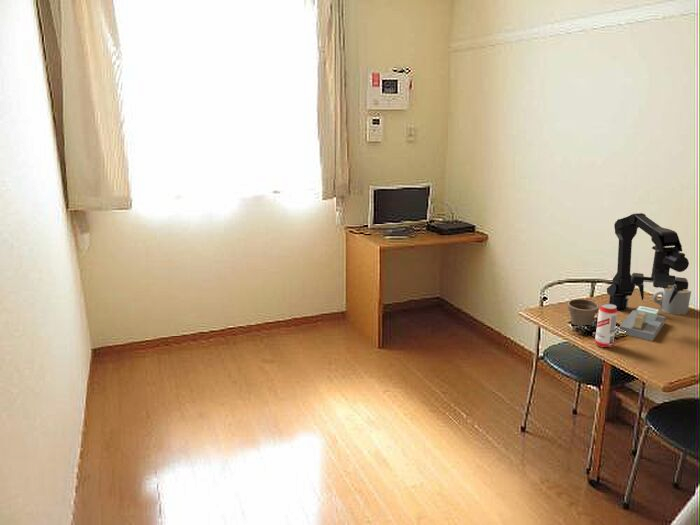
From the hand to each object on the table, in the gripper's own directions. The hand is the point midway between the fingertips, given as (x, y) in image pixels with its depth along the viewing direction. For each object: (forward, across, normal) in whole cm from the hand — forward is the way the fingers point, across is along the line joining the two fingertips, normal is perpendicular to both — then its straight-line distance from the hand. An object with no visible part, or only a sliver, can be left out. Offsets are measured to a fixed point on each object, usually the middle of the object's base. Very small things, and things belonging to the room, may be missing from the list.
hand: (655, 301), depth 208 cm
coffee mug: (+13, +8, +26) cm, 30 cm away
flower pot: (+13, -25, -6) cm, 29 cm away
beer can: (+13, -17, -20) cm, 29 cm away
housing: (+12, -3, +1) cm, 13 cm away
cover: (+10, -2, +7) cm, 12 cm away
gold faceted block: (+9, -4, -4) cm, 11 cm away
